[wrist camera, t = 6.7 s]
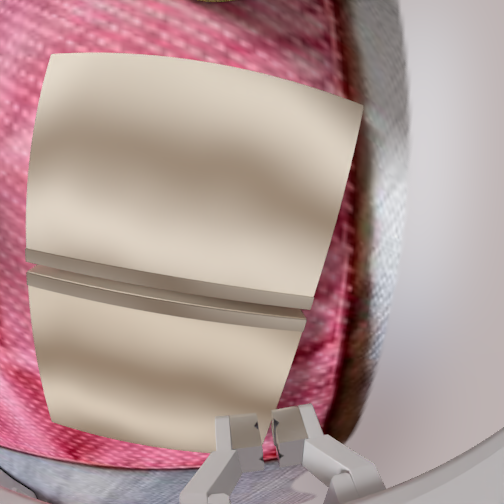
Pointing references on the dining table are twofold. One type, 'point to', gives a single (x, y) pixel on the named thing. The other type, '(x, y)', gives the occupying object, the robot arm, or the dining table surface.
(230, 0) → the plant pot
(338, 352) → the dining table surface
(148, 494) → the dining table surface
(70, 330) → the loose plank
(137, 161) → the board
